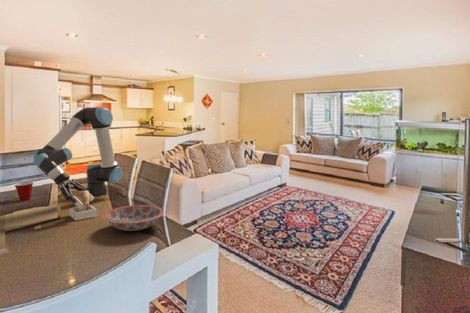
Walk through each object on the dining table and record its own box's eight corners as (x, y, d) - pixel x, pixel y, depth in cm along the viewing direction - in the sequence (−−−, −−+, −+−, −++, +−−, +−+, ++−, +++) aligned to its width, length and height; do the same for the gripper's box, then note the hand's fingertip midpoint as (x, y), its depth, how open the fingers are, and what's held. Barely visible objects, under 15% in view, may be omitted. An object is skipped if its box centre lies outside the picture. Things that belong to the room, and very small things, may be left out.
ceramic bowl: (143, 215, 168) (143, 202, 167) (175, 227, 149) (175, 212, 148) (92, 228, 145) (92, 213, 144) (123, 244, 127) (122, 226, 126)
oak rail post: (87, 211, 169) (86, 190, 167) (90, 214, 164) (90, 192, 163) (76, 213, 165) (75, 191, 163) (79, 216, 160) (78, 193, 159)
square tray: (91, 211, 173) (90, 205, 172) (97, 216, 164) (97, 209, 164) (69, 215, 165) (69, 208, 164) (75, 220, 156) (75, 213, 156)
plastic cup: (17, 198, 198) (16, 181, 197) (36, 197, 202) (35, 180, 201) (12, 202, 188) (11, 184, 187) (32, 201, 193) (31, 183, 191)
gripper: (66, 177, 174) (92, 201, 176) (40, 185, 149) (70, 213, 152) (75, 168, 174) (101, 193, 176) (50, 175, 149) (80, 204, 151)
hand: (87, 202), depth 164 cm, fingers open, 13 cm apart
